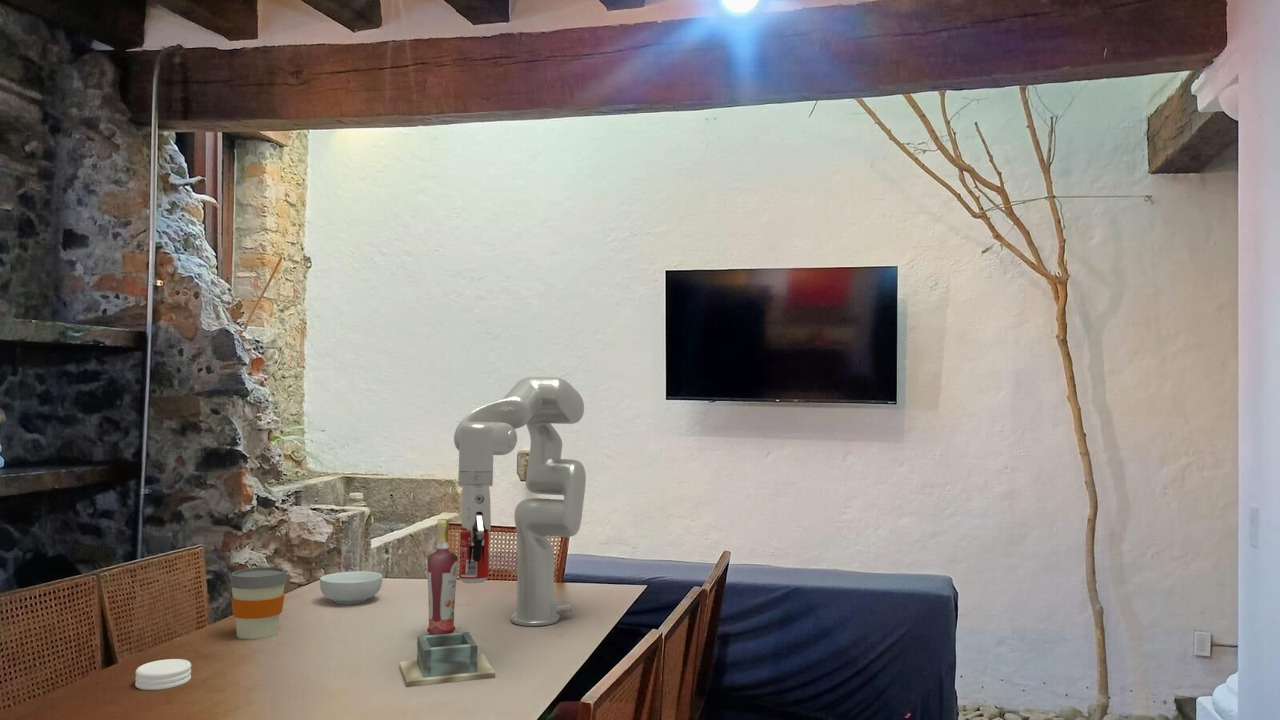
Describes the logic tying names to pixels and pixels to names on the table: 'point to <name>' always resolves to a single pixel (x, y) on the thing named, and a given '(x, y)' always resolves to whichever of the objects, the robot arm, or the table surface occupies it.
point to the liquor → (442, 584)
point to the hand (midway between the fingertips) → (473, 561)
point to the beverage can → (475, 569)
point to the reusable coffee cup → (257, 601)
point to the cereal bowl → (350, 586)
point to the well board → (446, 660)
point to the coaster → (163, 674)
